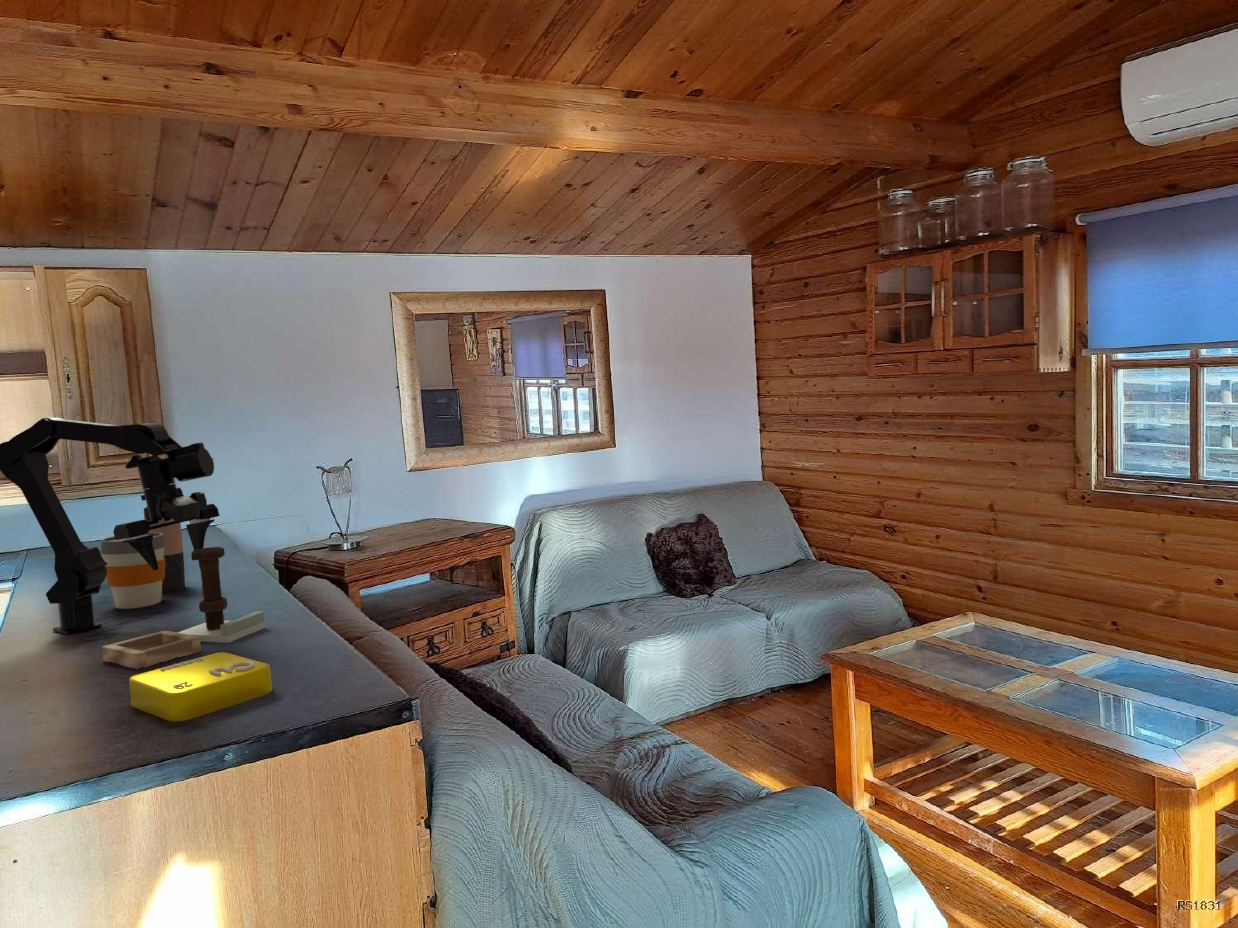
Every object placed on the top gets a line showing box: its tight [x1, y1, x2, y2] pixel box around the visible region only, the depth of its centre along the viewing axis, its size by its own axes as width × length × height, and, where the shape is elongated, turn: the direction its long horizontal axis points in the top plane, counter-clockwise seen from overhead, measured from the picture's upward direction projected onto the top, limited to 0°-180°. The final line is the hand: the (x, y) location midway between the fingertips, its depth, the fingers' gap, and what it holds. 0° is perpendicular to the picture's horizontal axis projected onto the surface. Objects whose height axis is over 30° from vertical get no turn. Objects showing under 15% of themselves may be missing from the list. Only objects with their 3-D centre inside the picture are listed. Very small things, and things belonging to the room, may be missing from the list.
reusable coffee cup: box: [100, 533, 166, 610], centre depth 193 cm, size 13×13×15 cm
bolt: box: [190, 546, 228, 630], centre depth 162 cm, size 6×5×15 cm
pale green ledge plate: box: [177, 610, 266, 644], centre depth 163 cm, size 12×10×3 cm
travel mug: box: [143, 506, 186, 593], centre depth 208 cm, size 8×8×20 cm
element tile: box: [128, 651, 273, 722], centre depth 127 cm, size 15×15×5 cm
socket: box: [101, 629, 202, 670], centre depth 151 cm, size 11×11×2 cm
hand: (178, 563), depth 171 cm, fingers open, 9 cm apart
